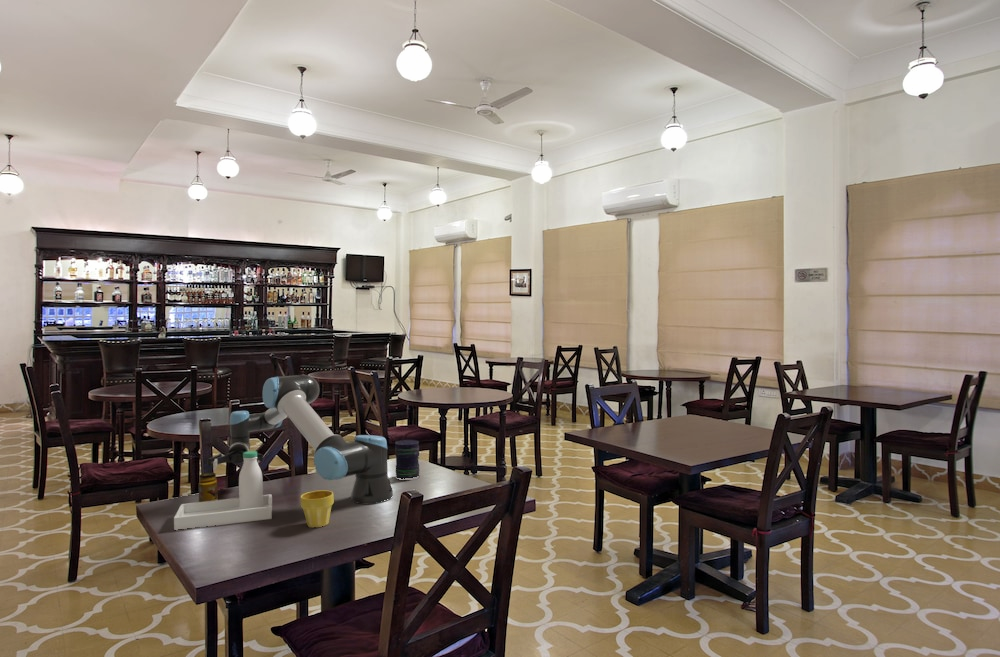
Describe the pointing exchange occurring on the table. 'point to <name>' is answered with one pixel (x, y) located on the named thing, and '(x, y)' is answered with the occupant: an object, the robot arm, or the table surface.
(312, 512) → the plant pot
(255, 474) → the milk bottle
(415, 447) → the storage jar
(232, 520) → the tray
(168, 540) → the table surface
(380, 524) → the table surface
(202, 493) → the condiment
